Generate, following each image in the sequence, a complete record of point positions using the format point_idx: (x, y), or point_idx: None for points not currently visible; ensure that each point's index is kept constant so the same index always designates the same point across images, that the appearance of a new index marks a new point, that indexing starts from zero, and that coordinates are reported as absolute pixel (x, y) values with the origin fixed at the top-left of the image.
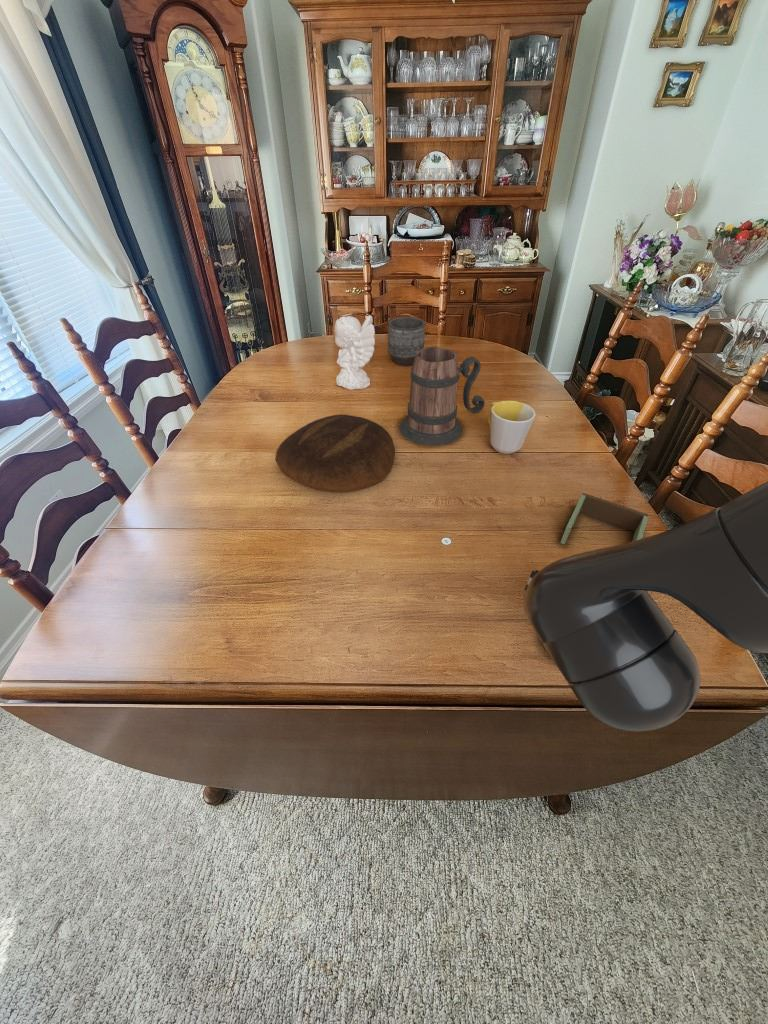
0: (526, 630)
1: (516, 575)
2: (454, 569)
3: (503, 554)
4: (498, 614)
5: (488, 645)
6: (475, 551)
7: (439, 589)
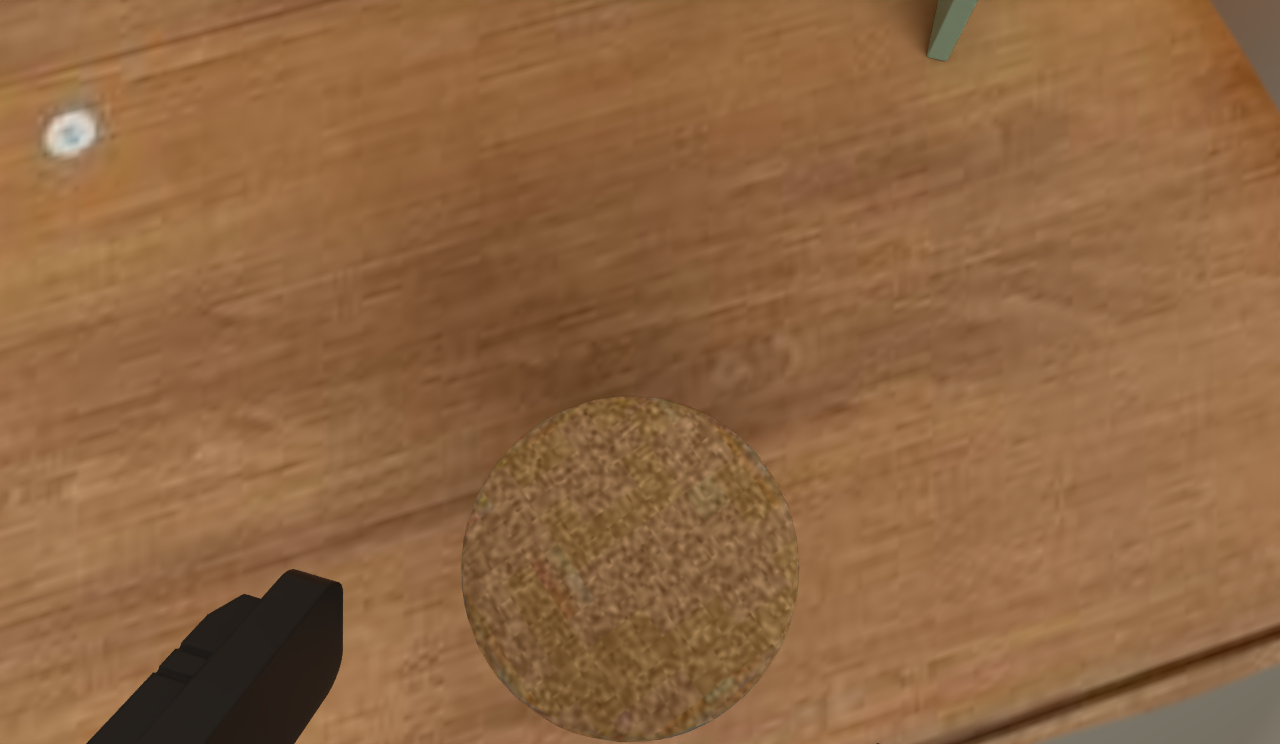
0: None
1: (424, 244)
2: (112, 296)
3: (360, 136)
4: (336, 507)
5: None
6: (220, 156)
7: (33, 443)
